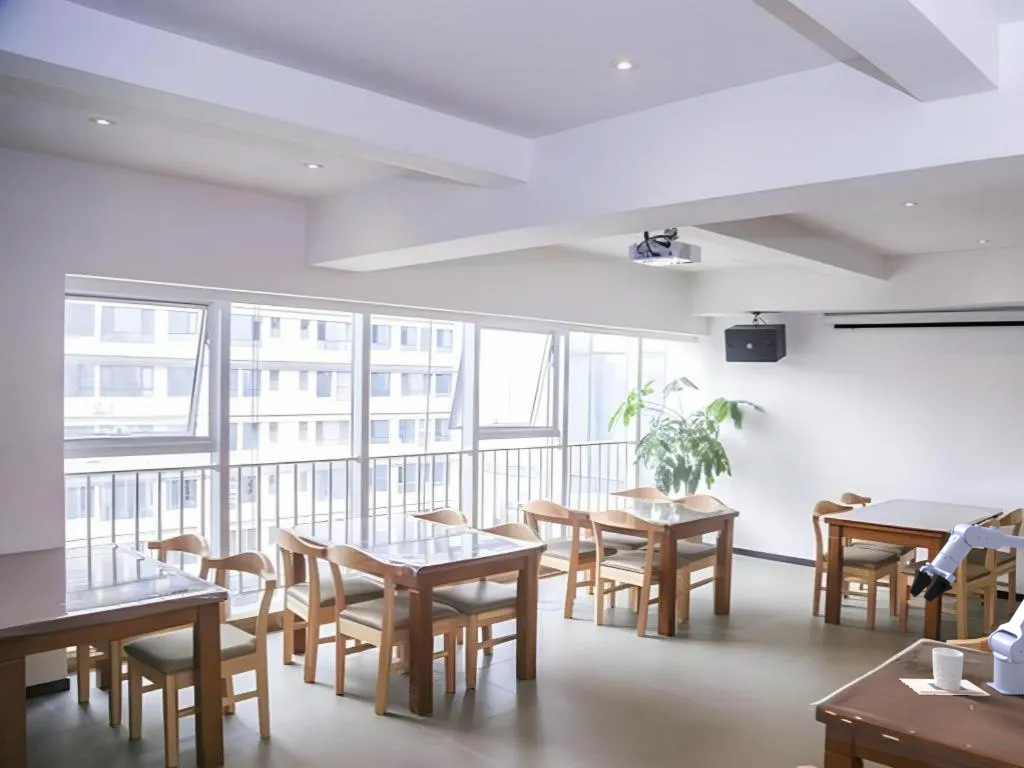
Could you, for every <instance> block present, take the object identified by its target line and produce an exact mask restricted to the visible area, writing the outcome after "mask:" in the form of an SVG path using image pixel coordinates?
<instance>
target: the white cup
mask: <svg viewBox="0 0 1024 768" xmlns="http://www.w3.org/2000/svg"><path fill="white" fill-rule="evenodd" d="M931 652H932V673H933V674H932V675H933V679H934V685H935V686H936V687H938V688H941V689H944V690H950V691H958V690H960V689H961V680H963V679H962V677H963V667H964V666H963V665H964V653H963V652H962V651H960V650H957V649H953V648H948V647H933V648H932V651H931Z"/></svg>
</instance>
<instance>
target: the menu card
mask: <svg viewBox="0 0 1024 768" xmlns="http://www.w3.org/2000/svg"><path fill="white" fill-rule="evenodd" d="M898 680H899V681H900V680H901V681H900V682H901V683H903V684H904V683H905V684H904V685H906V686H907V685H908V686H909V687H908V686H907V687H908V688H910V689H911V688H912V689H913V690H912V689H911V690H912V691H914V692H915V693H916V692H917V694H918V695H919V696H953V695H969V696H970V695H971V696H970V697H991V696H990V695H991V694H990V693H988V692H986V691H985V690H983V689H982V688H980V687H979V686H977V685H975V684H974V683H973V682H971V681H969V680H967V679H961V689H960V690H958V691H950V690H944V689H941V688H938V687H936V686H935V685H934V678H933V679H932V678H930V679H929V678H898ZM934 694H935V695H934ZM969 696H968V697H969Z"/></svg>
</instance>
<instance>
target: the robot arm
mask: <svg viewBox="0 0 1024 768" xmlns="http://www.w3.org/2000/svg"><path fill="white" fill-rule="evenodd" d="M1003 547H1008V548H1015V549H1020V550H1021V552H1022V553H1024V536H1019V535H1017V536H1016V535H1012V534H1009V535H1008V534H1005V533H1004V532H1003V530H1001V529H999V528H998V527H997V526H994V525H990V526H989V527H987V526H981V524H979V523H978V524H977V523H975V524H974V525H972V524H967V523H959V524H957V525H954V526H952V528H951V532H950V537H949V538H948V541H947V542H946V543H945V545H944V546H943V547H942V549H941V550H940V551H939V553H938V554H937V555H936V557H935V558H934V559H933V560H932V561H931V563H930V562H927V561H926V563H925V565H922V566H921V567H920V568H916V569H915V571H914V578H913V581H912V584H911V587H910V589H909V592H908V593H910V594H911V596H913V597H914V598H917V597H918V596H919V595H920V594H922V592H923V591H924V590H925V589H926V588H927V587H928V588H927V589H926V591H925V593H924V594H923V598H924V599H925V600H926V601H928V602H929V603H931V602H933V601H934V600H935V599H936V598H938V597H940V596H941V595H942V594H944V593H945V592H947V591H950V590H952V589H954V587H953V586H952V585H951V584H953V583H954V582H955V581H956V579H957V577H956V576H954V575H953V573H954V572H955V571H956V569H957V568H958V567H959V565H960V564H961V563H962V562H963V560H964V559H965V557H966V556H968V554H969V552H970V551H971V550H972V549H973V548H984V549H985V548H986V549H991V550H992V549H993V550H1000V549H1001V548H1003ZM931 577H932V578H931ZM987 641H988V642H987V643H988V647H989V649H990V650H992V655H993V682H986V685H987V686H989V687H990V688H992V689H994V690H995V691H996V692H999V693H1000V694H1002V695H1019V694H1020V695H1022V694H1023V695H1024V599H1023V600H1022V601H1021V603H1020V605H1019V606H1018V608H1017V609H1016V611H1015V613H1014V614H1013V616H1012V617H1011V618H1010V621H1009V622H1006V623H1004V624H1003V623H1002V624H1000V625H999V626H998V627H997V629H996V630H994V631H993V632H992V633H990V635H989V637H988V639H987Z"/></svg>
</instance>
